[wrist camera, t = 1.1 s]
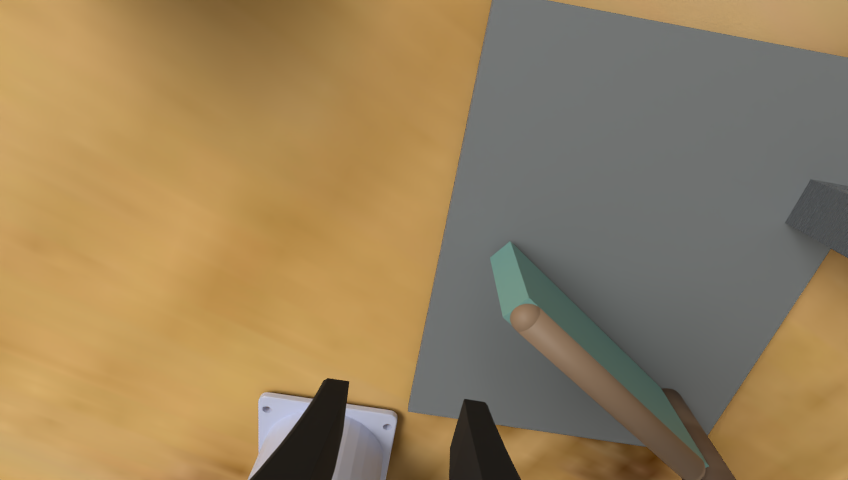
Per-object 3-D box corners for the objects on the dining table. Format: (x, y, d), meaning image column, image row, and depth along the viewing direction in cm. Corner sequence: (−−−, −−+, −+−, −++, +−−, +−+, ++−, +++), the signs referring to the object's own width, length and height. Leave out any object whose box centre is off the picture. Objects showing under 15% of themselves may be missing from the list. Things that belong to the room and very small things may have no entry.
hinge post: (666, 408, 24) (730, 515, 19) (633, 403, 24) (687, 509, 19) (682, 383, 24) (753, 487, 18) (646, 377, 24) (708, 480, 18)
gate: (660, 387, 22) (717, 479, 18) (641, 399, 23) (690, 492, 18) (510, 241, 19) (532, 307, 14) (490, 257, 19) (505, 327, 15)
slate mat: (690, 445, 26) (695, 454, 25) (408, 403, 25) (408, 411, 24) (928, 74, 16) (944, 76, 16) (493, -9, 16) (495, -10, 15)
